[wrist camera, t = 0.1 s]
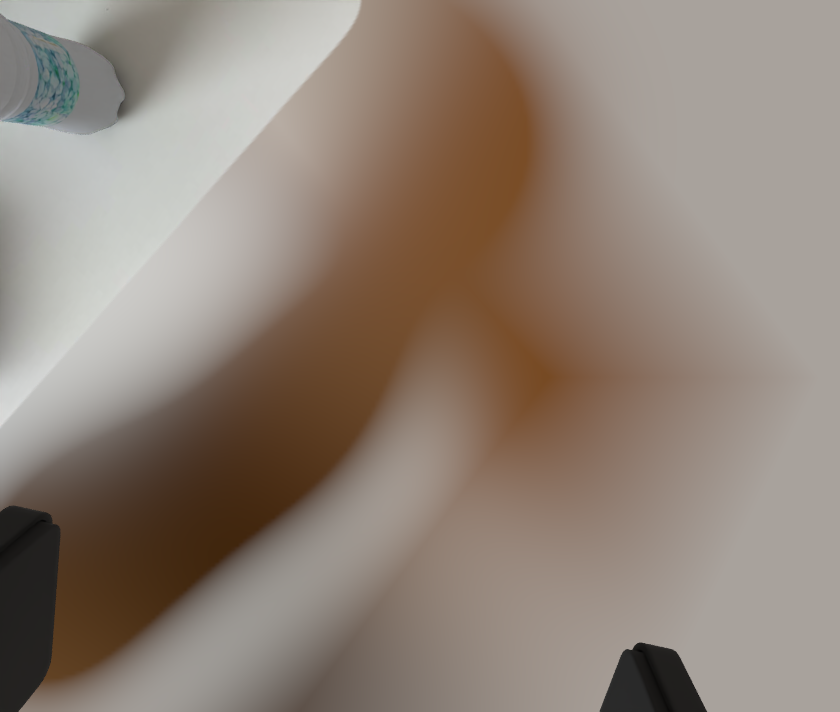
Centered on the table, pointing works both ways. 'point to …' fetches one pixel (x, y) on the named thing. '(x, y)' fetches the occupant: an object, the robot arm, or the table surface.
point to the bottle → (55, 82)
